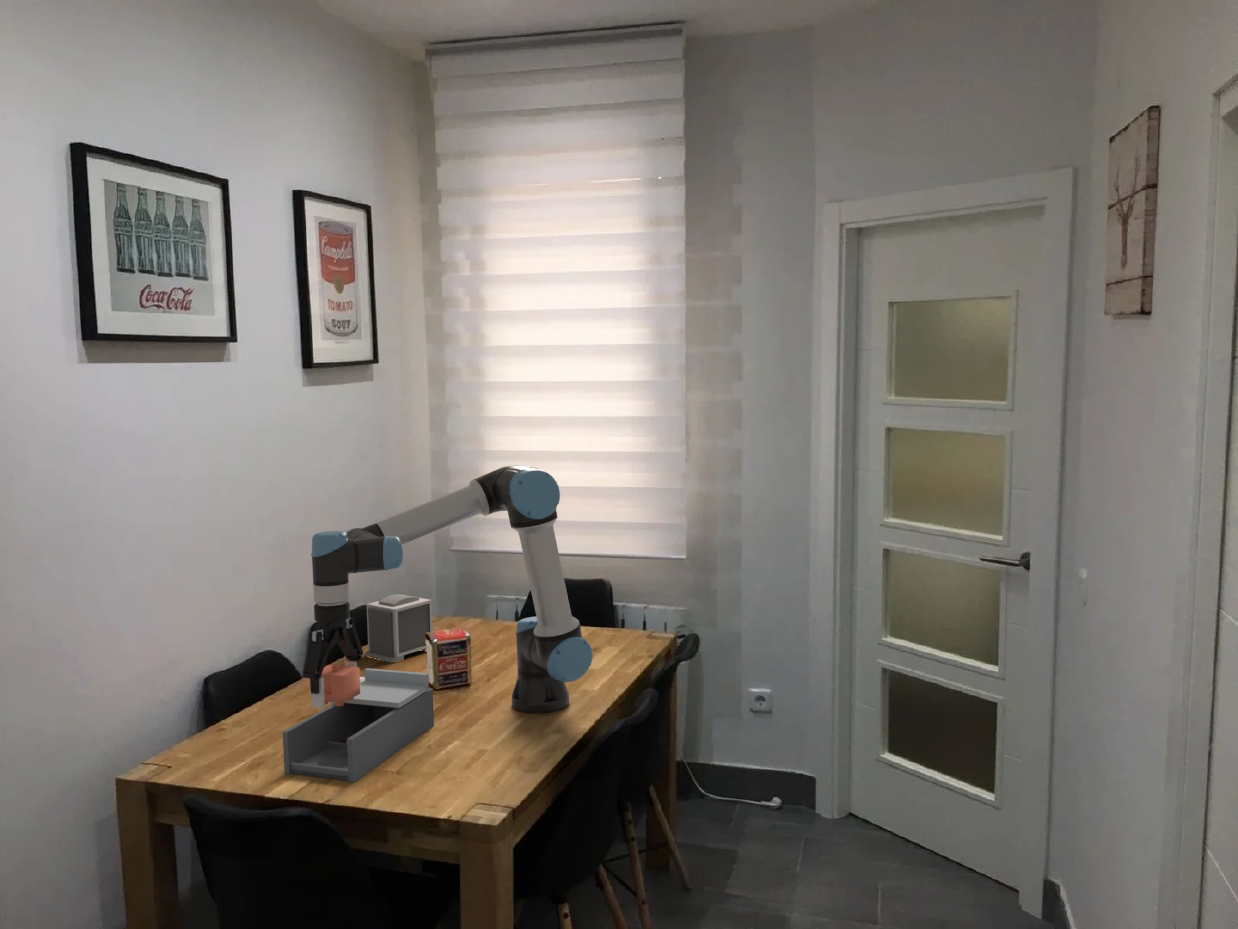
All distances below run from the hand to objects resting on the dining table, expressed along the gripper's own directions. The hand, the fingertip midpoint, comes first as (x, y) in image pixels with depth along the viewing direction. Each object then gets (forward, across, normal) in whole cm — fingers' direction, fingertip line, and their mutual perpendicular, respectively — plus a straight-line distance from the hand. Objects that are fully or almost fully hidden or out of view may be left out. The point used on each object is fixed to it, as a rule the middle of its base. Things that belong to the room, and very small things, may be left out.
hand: (335, 698), depth 214 cm
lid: (+6, -19, 0) cm, 20 cm away
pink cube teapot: (+1, 0, 0) cm, 1 cm away
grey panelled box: (+15, -83, -33) cm, 91 cm away
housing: (+15, -10, 0) cm, 18 cm away
